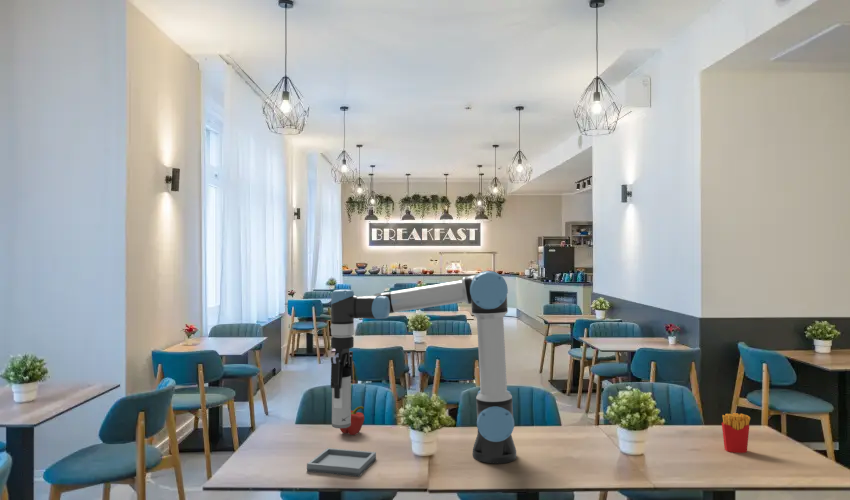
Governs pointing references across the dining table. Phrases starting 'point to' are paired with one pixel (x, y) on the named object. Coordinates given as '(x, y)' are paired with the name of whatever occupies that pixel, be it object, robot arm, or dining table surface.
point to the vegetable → (354, 422)
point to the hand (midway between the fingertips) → (342, 405)
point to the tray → (341, 462)
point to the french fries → (735, 432)
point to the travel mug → (343, 402)
